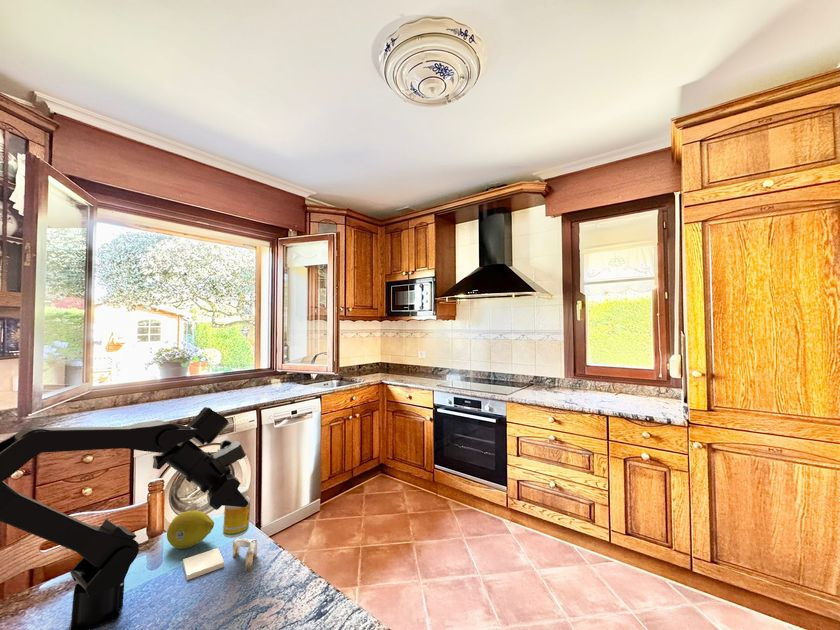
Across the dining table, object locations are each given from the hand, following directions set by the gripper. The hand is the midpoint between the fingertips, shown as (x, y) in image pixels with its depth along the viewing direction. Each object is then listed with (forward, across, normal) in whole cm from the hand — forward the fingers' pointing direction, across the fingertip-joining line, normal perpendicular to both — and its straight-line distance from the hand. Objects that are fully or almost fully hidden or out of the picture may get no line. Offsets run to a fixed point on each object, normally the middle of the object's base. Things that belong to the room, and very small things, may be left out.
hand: (244, 500), depth 83 cm
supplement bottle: (+4, 0, +6) cm, 7 cm away
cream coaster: (+3, +1, +14) cm, 14 cm away
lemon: (+2, +12, +15) cm, 20 cm away
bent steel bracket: (+9, -3, +9) cm, 13 cm away
